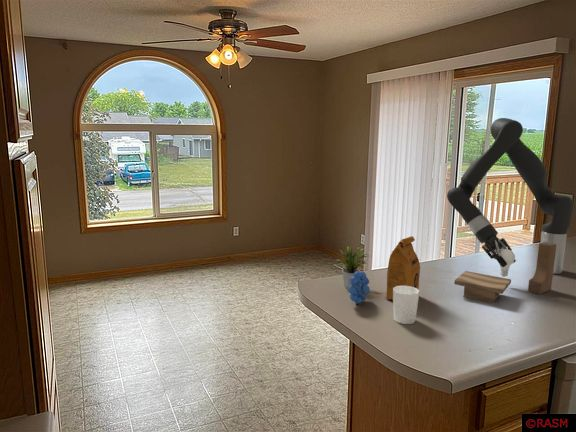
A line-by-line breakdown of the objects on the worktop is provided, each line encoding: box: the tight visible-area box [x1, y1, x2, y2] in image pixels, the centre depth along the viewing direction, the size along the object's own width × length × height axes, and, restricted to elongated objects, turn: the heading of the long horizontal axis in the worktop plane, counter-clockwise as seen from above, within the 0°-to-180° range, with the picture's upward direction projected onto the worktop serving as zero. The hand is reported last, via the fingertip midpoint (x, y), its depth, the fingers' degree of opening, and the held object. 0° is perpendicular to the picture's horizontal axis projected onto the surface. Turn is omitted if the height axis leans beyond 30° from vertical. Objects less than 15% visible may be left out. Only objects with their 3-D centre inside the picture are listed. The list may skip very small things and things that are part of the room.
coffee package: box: [386, 235, 421, 301], centre depth 153 cm, size 10×12×22 cm
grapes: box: [347, 270, 371, 305], centre depth 148 cm, size 12×7×12 cm, turn 139°
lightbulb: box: [499, 248, 516, 278], centre depth 167 cm, size 6×6×11 cm
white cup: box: [392, 286, 420, 325], centre depth 136 cm, size 8×8×10 cm
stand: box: [453, 270, 512, 303], centre depth 157 cm, size 14×16×6 cm
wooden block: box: [527, 242, 557, 295], centre depth 162 cm, size 9×4×18 cm, turn 125°
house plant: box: [336, 244, 370, 289], centre depth 164 cm, size 14×14×16 cm
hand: (509, 264), depth 165 cm, fingers closed on lightbulb, 6 cm apart
